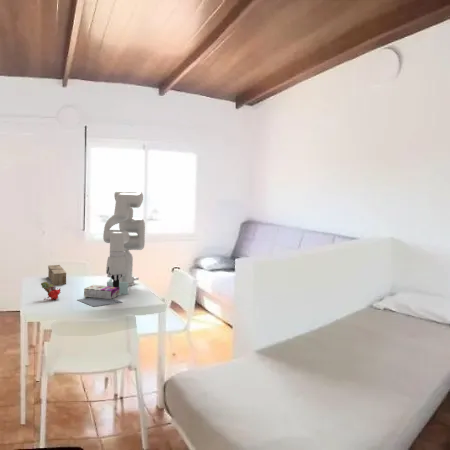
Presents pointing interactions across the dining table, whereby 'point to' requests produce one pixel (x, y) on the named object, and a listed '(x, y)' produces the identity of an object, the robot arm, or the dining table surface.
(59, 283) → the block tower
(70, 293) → the dining table surface
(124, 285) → the right angle wall
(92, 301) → the mat
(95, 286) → the candy bar box
